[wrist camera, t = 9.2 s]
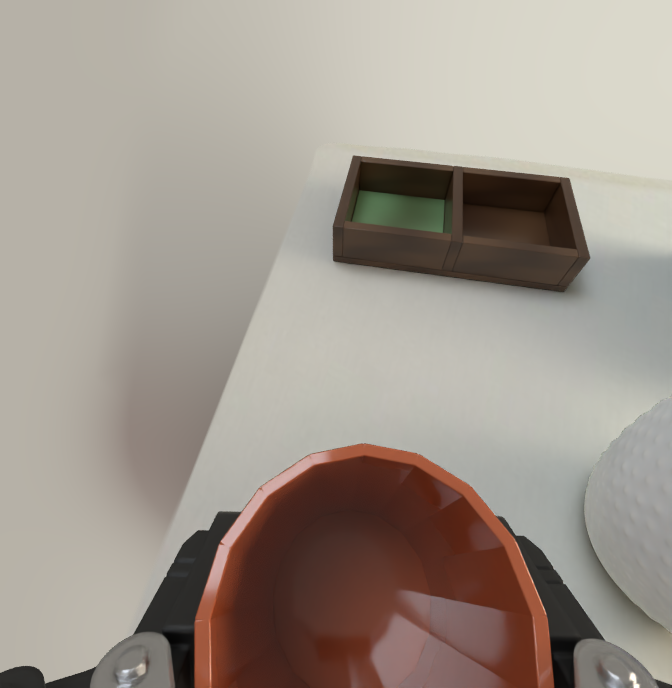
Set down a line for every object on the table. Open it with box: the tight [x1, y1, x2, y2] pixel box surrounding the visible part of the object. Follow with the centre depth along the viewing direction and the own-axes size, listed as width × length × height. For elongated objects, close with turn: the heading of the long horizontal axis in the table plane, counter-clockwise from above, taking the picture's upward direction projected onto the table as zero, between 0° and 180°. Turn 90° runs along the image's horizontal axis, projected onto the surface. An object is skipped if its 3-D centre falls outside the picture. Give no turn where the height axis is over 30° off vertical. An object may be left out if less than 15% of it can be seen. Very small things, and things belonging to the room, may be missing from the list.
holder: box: [333, 156, 590, 292], centre depth 30 cm, size 18×10×4 cm, turn 79°
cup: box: [194, 444, 554, 688], centre depth 11 cm, size 7×7×9 cm
